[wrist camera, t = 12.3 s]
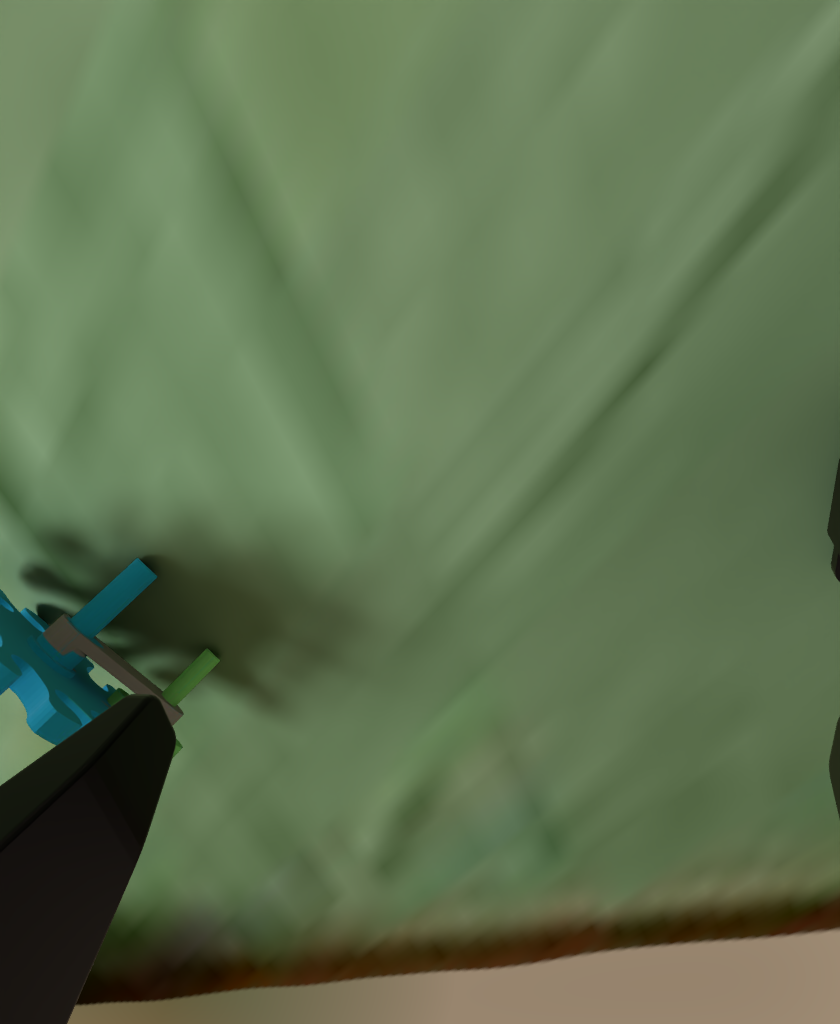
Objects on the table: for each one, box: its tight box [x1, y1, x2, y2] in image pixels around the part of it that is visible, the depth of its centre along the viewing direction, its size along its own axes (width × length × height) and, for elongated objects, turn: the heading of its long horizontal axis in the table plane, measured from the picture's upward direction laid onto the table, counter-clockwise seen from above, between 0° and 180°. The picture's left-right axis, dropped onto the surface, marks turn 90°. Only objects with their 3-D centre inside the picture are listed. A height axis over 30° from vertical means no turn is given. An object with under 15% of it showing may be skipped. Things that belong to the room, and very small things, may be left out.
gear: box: [0, 558, 220, 757], centre depth 26 cm, size 11×6×10 cm
